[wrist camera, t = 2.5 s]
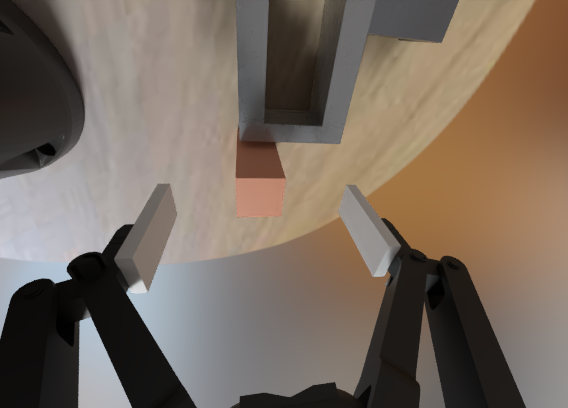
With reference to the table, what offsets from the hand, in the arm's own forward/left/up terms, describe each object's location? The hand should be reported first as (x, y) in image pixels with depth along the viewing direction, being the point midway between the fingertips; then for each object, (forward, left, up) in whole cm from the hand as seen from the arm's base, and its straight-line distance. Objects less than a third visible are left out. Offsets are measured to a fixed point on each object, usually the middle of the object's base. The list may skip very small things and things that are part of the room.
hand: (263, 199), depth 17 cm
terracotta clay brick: (0, 0, -10) cm, 10 cm away
